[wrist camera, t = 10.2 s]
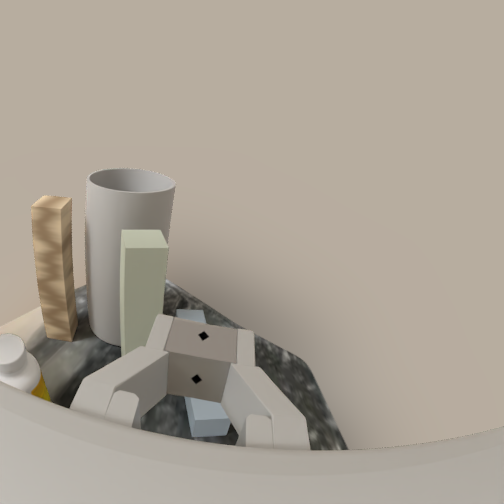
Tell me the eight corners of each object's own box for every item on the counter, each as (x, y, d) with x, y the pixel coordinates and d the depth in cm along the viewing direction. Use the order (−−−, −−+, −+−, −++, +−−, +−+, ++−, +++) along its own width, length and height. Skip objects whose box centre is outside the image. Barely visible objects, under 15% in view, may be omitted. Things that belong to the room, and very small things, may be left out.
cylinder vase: (170, 315, 57) (187, 179, 47) (142, 359, 46) (152, 199, 35) (110, 295, 58) (116, 164, 47) (76, 332, 46) (68, 180, 36)
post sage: (127, 391, 39) (125, 248, 30) (122, 368, 43) (121, 229, 34) (158, 388, 42) (168, 247, 32) (151, 365, 45) (160, 229, 36)
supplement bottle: (46, 393, 34) (25, 321, 29) (64, 429, 30) (41, 361, 25) (6, 406, 29) (-25, 334, 24) (21, 445, 26) (-16, 377, 20)
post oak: (47, 337, 43) (31, 206, 34) (54, 320, 47) (44, 195, 38) (71, 341, 44) (60, 209, 35) (77, 324, 48) (71, 197, 39)
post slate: (194, 420, 34) (176, 309, 52) (191, 438, 36) (174, 329, 54) (232, 417, 35) (202, 310, 54) (226, 436, 37) (199, 330, 56)
